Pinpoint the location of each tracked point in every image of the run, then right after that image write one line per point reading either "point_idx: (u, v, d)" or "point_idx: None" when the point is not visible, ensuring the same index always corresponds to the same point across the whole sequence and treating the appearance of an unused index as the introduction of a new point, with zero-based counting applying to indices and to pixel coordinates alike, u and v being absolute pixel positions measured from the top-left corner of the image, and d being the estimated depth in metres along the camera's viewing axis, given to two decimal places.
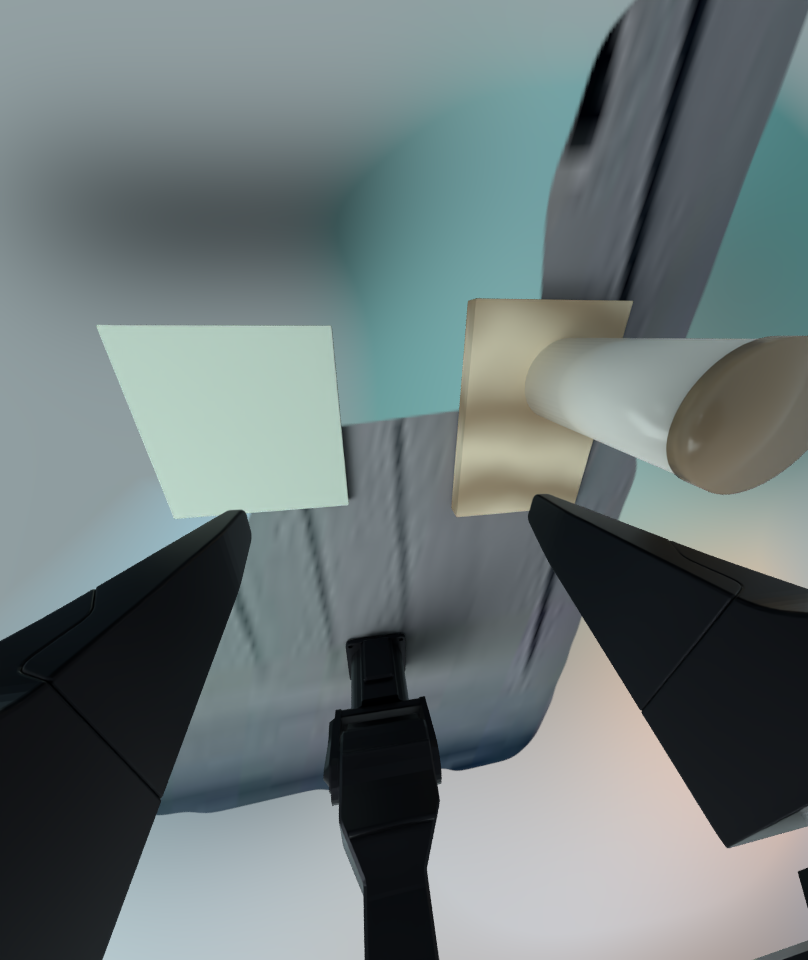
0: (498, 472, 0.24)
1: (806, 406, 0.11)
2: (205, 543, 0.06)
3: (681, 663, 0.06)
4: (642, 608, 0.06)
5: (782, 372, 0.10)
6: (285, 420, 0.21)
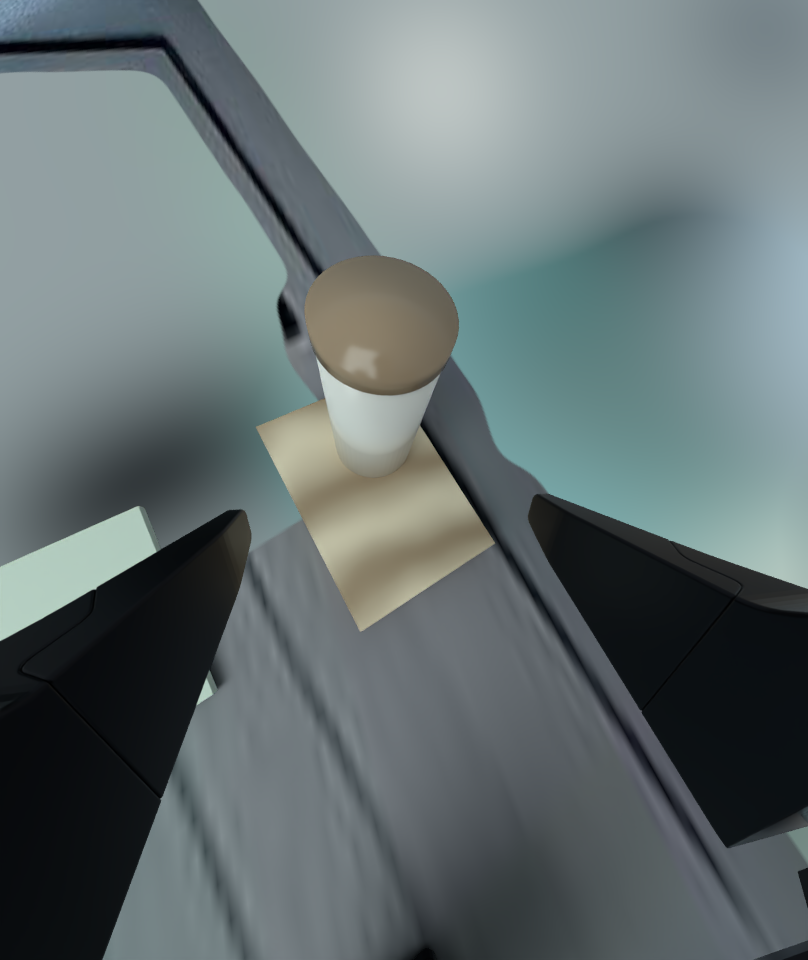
0: (374, 550, 0.20)
1: (405, 291, 0.12)
2: (205, 543, 0.06)
3: (681, 663, 0.06)
4: (642, 608, 0.06)
5: (348, 283, 0.11)
6: None
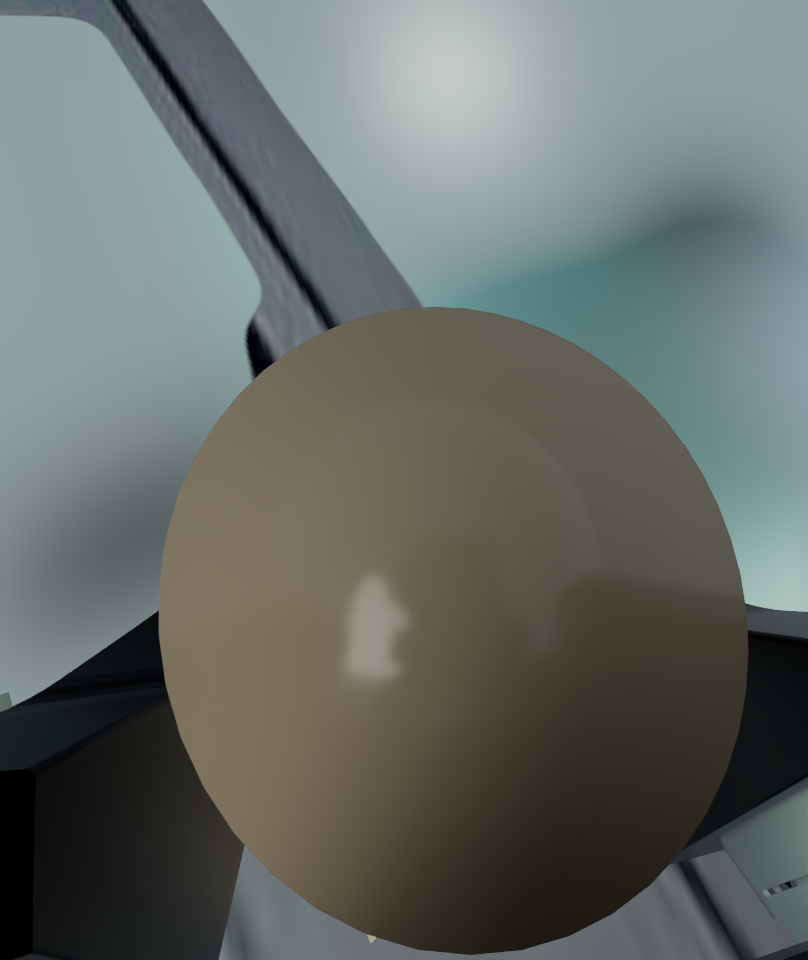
0: None
1: (545, 434, 0.03)
2: None
3: None
4: None
5: (349, 416, 0.03)
6: None
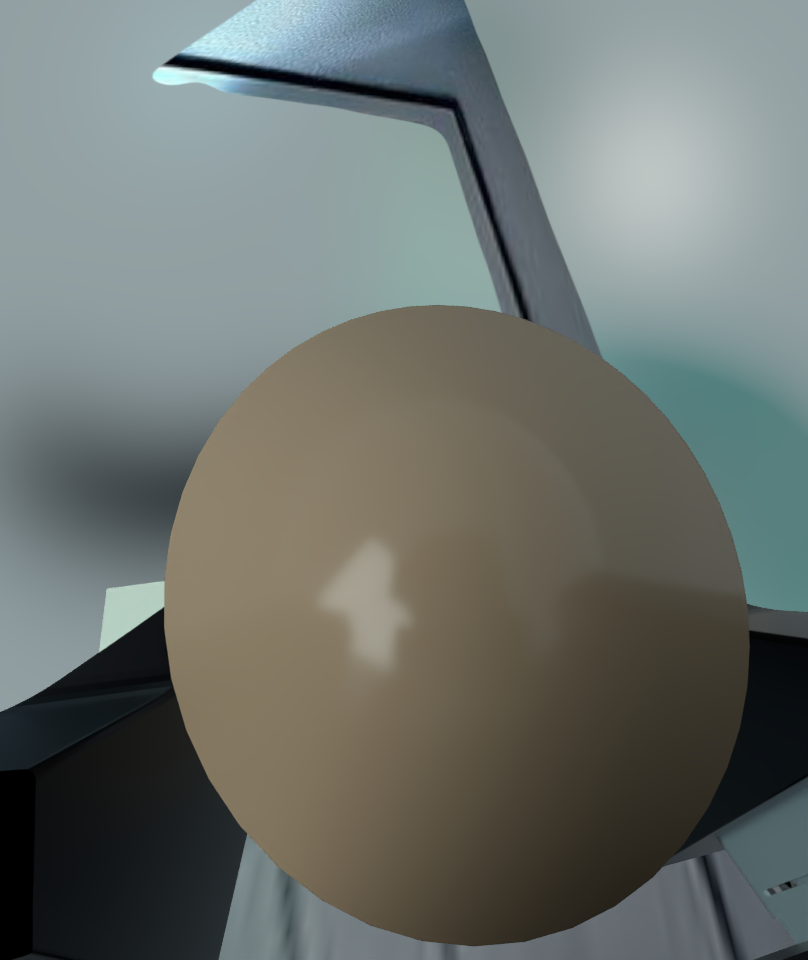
0: None
1: (547, 431, 0.03)
2: None
3: None
4: None
5: (352, 413, 0.03)
6: None
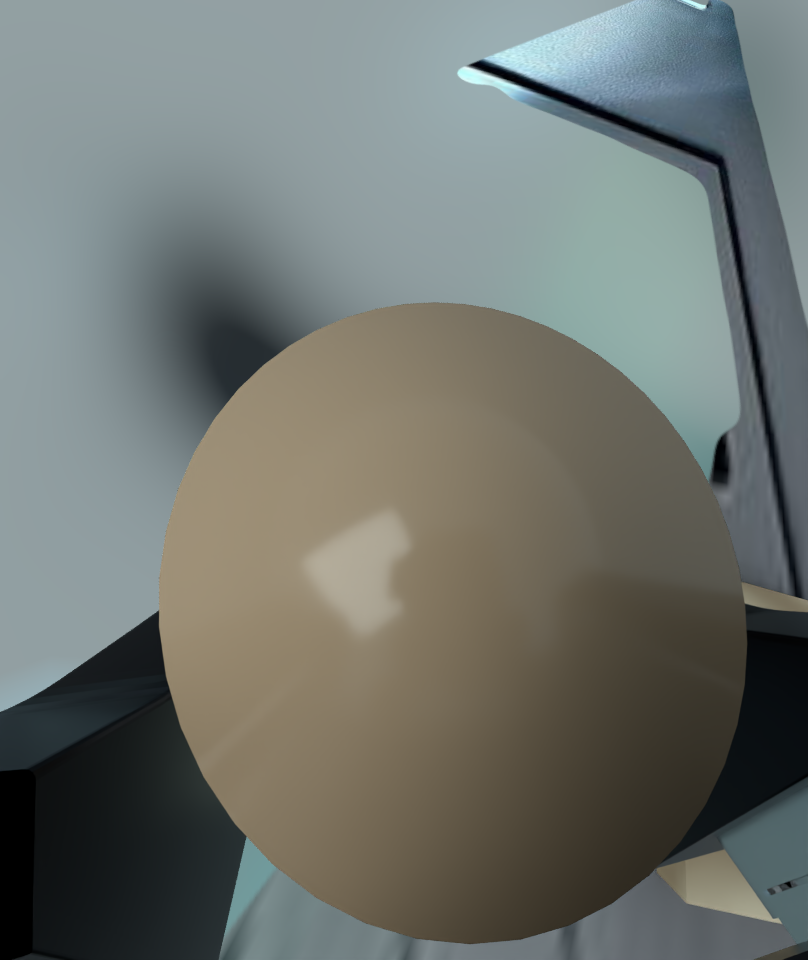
0: None
1: (544, 428, 0.03)
2: None
3: None
4: None
5: (348, 410, 0.03)
6: None
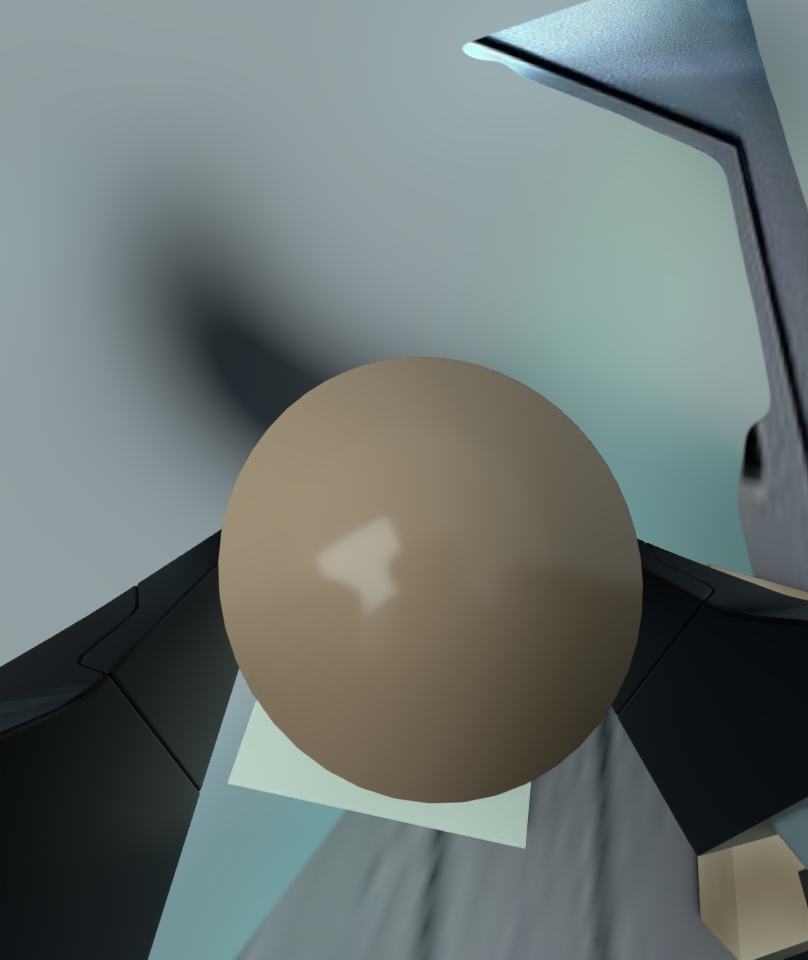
0: None
1: (495, 454, 0.05)
2: None
3: (653, 667, 0.06)
4: None
5: (348, 442, 0.04)
6: None
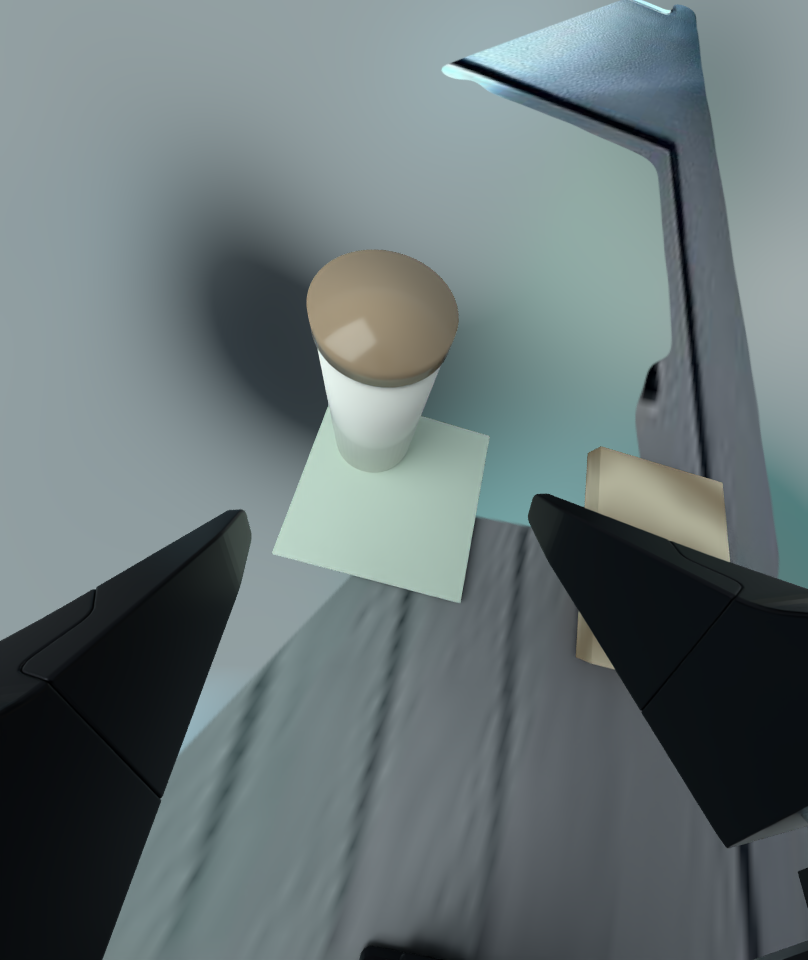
0: None
1: (406, 284, 0.12)
2: (205, 543, 0.06)
3: (681, 663, 0.06)
4: (642, 608, 0.06)
5: (349, 276, 0.12)
6: (430, 490, 0.22)
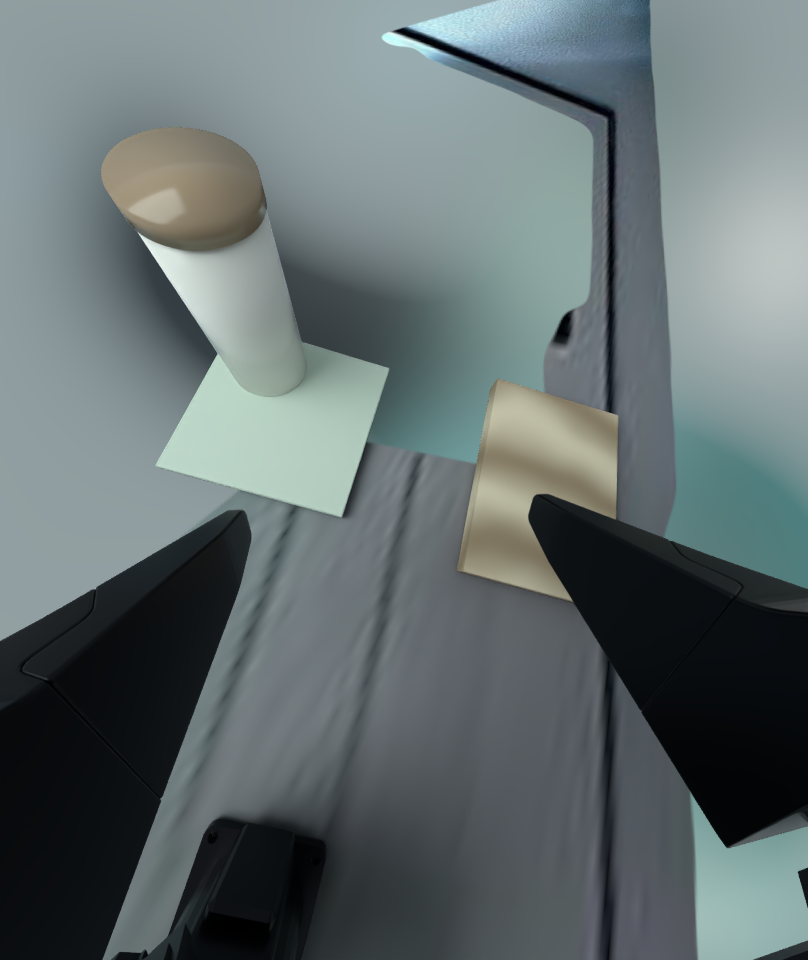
0: (515, 527, 0.21)
1: (211, 157, 0.13)
2: (205, 543, 0.06)
3: (681, 663, 0.06)
4: (643, 608, 0.06)
5: (153, 147, 0.12)
6: (323, 415, 0.23)
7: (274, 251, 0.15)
